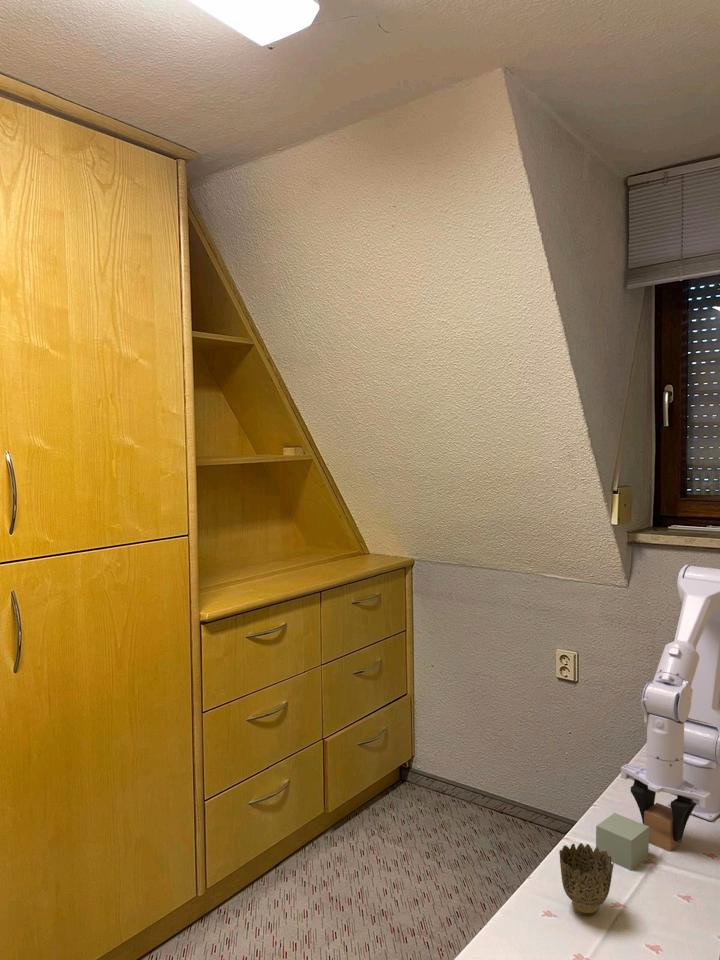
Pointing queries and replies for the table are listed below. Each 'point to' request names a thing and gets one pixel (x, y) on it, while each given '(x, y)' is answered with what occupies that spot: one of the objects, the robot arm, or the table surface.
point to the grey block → (623, 840)
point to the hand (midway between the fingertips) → (662, 832)
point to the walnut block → (660, 826)
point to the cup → (585, 877)
